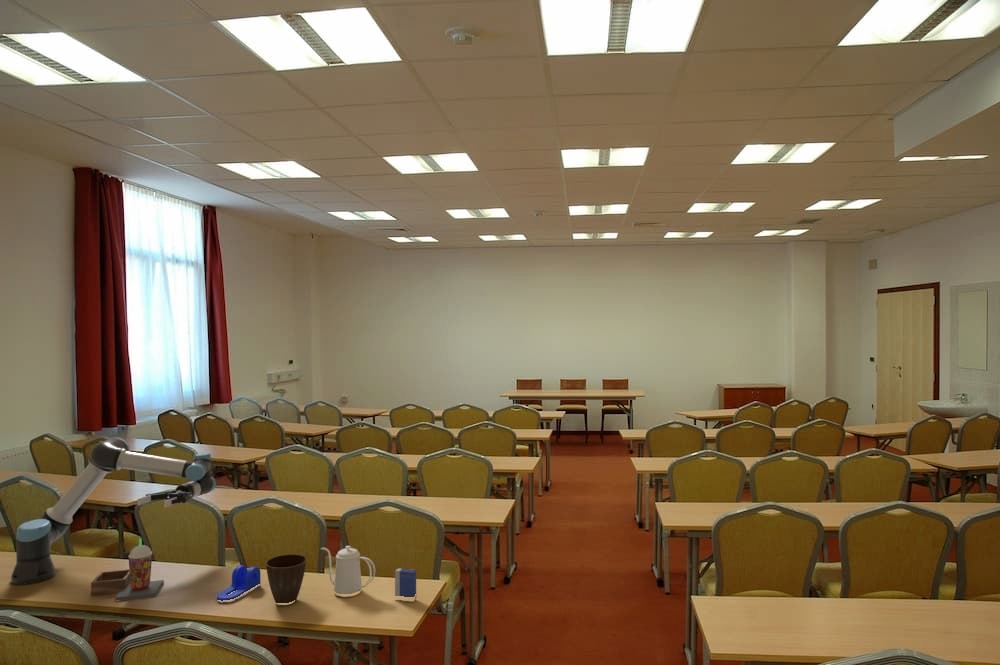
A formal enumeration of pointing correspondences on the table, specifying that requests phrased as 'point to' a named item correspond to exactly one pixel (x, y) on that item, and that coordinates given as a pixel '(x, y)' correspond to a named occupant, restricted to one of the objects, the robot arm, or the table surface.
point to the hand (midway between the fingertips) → (151, 503)
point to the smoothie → (140, 567)
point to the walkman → (405, 582)
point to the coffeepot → (348, 571)
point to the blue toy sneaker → (241, 582)
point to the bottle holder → (110, 582)
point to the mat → (146, 593)
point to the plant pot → (286, 576)
